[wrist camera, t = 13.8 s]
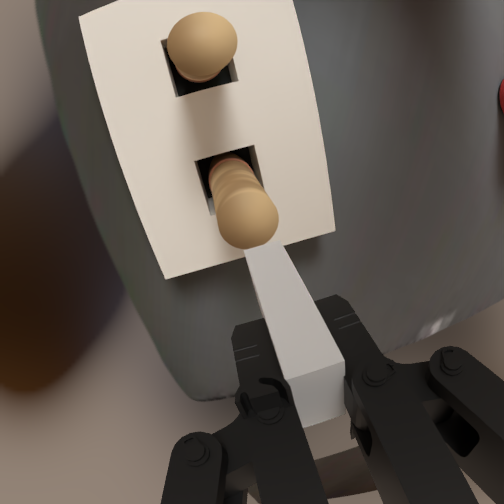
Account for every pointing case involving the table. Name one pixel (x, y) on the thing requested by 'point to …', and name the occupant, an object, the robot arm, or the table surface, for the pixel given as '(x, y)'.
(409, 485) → the robot arm
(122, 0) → the off-white board
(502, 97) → the beer can
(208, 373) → the table surface
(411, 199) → the table surface
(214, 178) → the honey-oak peg
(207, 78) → the seated peg
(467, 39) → the table surface
